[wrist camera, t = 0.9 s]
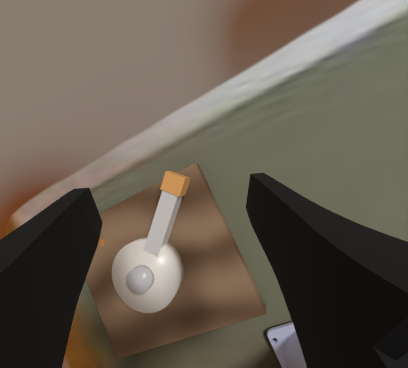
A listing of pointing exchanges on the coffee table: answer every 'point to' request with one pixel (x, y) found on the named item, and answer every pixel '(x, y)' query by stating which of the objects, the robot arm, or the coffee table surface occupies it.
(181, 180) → the white handled piece
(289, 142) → the coffee table surface
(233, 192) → the coffee table surface
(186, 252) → the post board
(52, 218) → the robot arm
